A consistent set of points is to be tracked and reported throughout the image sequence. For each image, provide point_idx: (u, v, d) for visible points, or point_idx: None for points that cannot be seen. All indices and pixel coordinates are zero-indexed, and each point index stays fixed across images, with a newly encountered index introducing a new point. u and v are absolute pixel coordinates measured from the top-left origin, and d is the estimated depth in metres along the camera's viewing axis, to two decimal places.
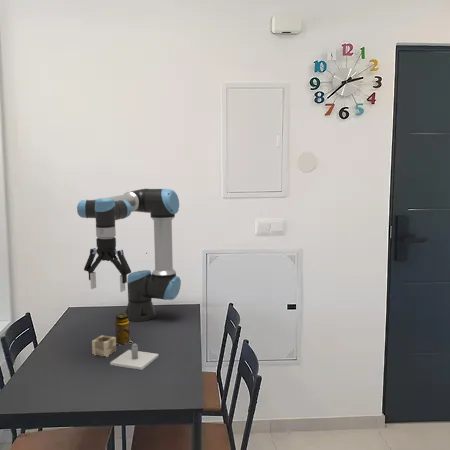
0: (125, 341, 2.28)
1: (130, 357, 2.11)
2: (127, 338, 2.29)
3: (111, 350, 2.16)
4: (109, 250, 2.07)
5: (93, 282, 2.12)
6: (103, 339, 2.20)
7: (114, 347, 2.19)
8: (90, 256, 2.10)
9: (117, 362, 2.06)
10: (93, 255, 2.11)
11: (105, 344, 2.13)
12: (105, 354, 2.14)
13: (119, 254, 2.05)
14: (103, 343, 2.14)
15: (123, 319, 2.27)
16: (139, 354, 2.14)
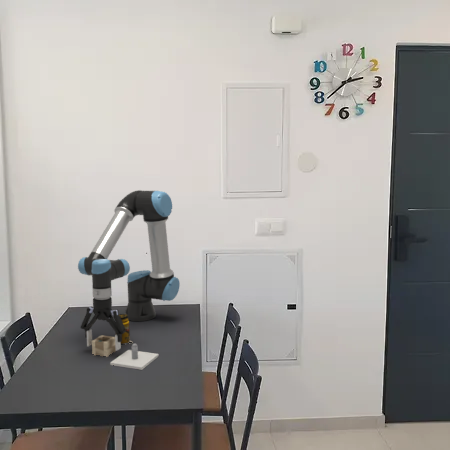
0: (125, 341, 2.28)
1: (130, 357, 2.11)
2: (127, 338, 2.29)
3: (111, 350, 2.16)
4: (105, 310, 2.14)
5: (89, 340, 2.19)
6: (103, 339, 2.20)
7: (114, 347, 2.19)
8: (87, 315, 2.17)
9: (117, 362, 2.06)
10: (89, 314, 2.18)
11: (105, 344, 2.13)
12: (105, 354, 2.14)
13: (115, 314, 2.12)
14: (103, 343, 2.14)
15: (123, 319, 2.27)
16: (139, 354, 2.14)
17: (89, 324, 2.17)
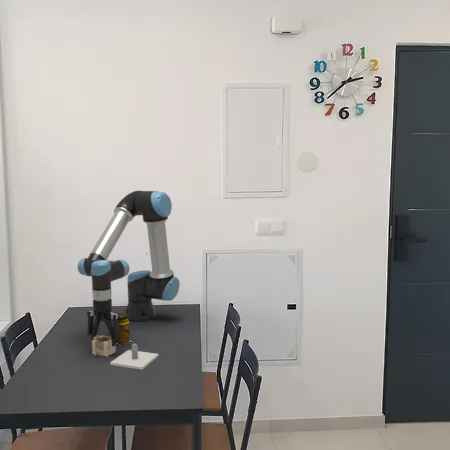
0: (125, 341, 2.28)
1: (130, 357, 2.11)
2: (127, 338, 2.29)
3: None
4: (106, 311, 2.14)
5: None
6: (103, 339, 2.20)
7: None
8: (89, 319, 2.17)
9: (117, 362, 2.06)
10: (91, 317, 2.18)
11: (105, 344, 2.13)
12: (105, 354, 2.14)
13: (114, 318, 2.13)
14: (103, 343, 2.14)
15: (123, 319, 2.27)
16: (139, 354, 2.14)
17: (94, 329, 2.17)
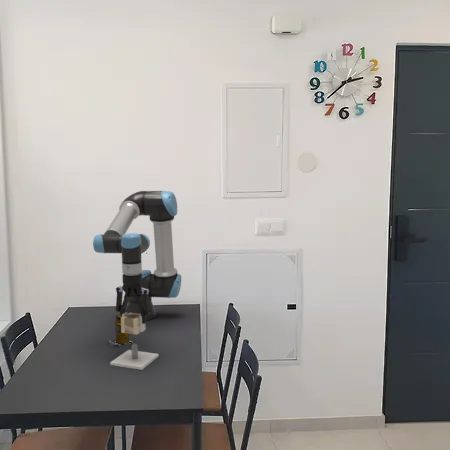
0: (125, 341, 2.28)
1: (130, 357, 2.11)
2: (127, 338, 2.29)
3: None
4: (136, 286, 2.04)
5: None
6: (132, 316, 2.10)
7: None
8: (118, 295, 2.07)
9: (117, 362, 2.06)
10: (120, 293, 2.08)
11: (135, 321, 2.03)
12: (135, 331, 2.04)
13: (145, 293, 2.03)
14: (133, 320, 2.03)
15: None
16: (139, 354, 2.14)
17: (123, 305, 2.07)
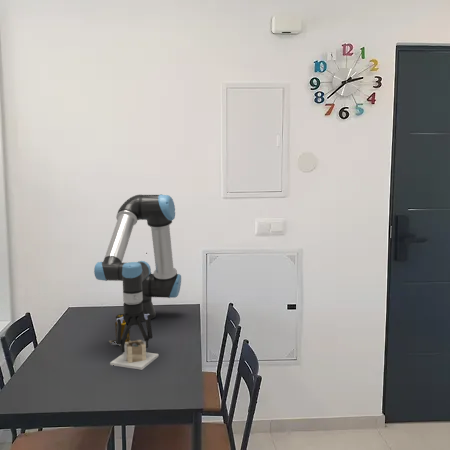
0: (125, 341, 2.28)
1: None
2: (127, 338, 2.29)
3: None
4: (140, 313, 2.07)
5: None
6: (129, 345, 2.10)
7: None
8: (120, 327, 2.04)
9: (117, 362, 2.06)
10: None
11: (144, 347, 2.07)
12: (144, 357, 2.08)
13: (149, 318, 2.09)
14: (141, 347, 2.07)
15: None
16: None
17: (125, 335, 2.06)
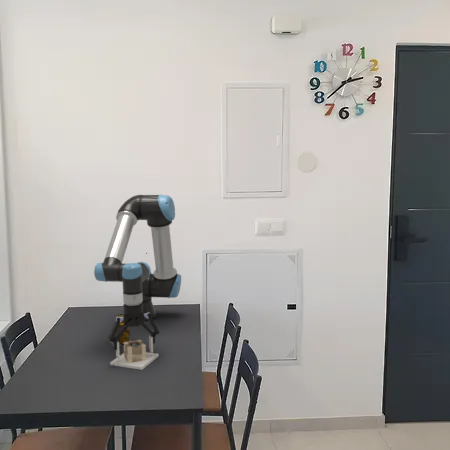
0: (125, 341, 2.28)
1: None
2: (127, 338, 2.29)
3: None
4: (139, 315, 2.07)
5: None
6: None
7: None
8: (117, 325, 2.04)
9: (117, 362, 2.06)
10: None
11: (144, 347, 2.07)
12: (144, 357, 2.08)
13: (150, 316, 2.09)
14: (141, 347, 2.07)
15: None
16: None
17: (120, 334, 2.05)
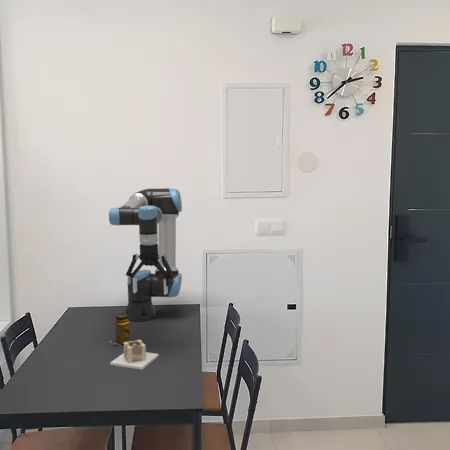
0: (125, 341, 2.28)
1: None
2: (127, 338, 2.29)
3: None
4: (153, 255, 2.16)
5: (135, 286, 2.21)
6: None
7: None
8: (133, 262, 2.19)
9: (117, 362, 2.06)
10: (135, 260, 2.19)
11: (144, 347, 2.07)
12: (144, 357, 2.08)
13: (163, 259, 2.16)
14: (141, 347, 2.07)
15: (123, 319, 2.27)
16: None
17: (135, 271, 2.19)
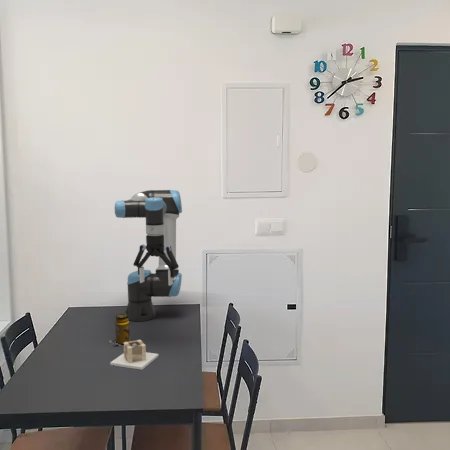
0: (125, 341, 2.28)
1: None
2: (127, 338, 2.29)
3: None
4: (158, 246, 2.21)
5: (142, 276, 2.26)
6: None
7: None
8: (139, 252, 2.24)
9: (117, 362, 2.06)
10: (142, 251, 2.25)
11: (144, 347, 2.07)
12: (144, 357, 2.08)
13: (168, 250, 2.19)
14: (141, 347, 2.07)
15: (123, 319, 2.27)
16: None
17: (142, 261, 2.24)
